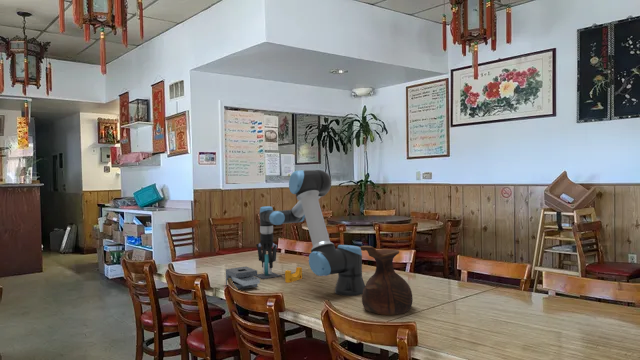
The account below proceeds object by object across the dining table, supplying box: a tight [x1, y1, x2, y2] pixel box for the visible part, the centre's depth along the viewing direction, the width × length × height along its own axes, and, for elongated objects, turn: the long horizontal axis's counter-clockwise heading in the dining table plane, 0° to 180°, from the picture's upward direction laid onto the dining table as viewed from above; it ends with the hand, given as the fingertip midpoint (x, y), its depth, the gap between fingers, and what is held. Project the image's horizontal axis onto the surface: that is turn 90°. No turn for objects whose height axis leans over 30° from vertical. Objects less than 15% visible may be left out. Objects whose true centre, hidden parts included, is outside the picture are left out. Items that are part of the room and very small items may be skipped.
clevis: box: [225, 266, 261, 290], centre depth 258 cm, size 20×12×8 cm, turn 33°
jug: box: [360, 245, 413, 316], centre depth 206 cm, size 22×22×30 cm
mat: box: [255, 271, 282, 280], centre depth 284 cm, size 12×12×1 cm
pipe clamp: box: [284, 266, 303, 284], centre depth 272 cm, size 12×4×6 cm, turn 146°
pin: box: [265, 253, 270, 276], centre depth 284 cm, size 3×3×12 cm
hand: (267, 273), depth 284 cm, fingers closed on pin, 3 cm apart
